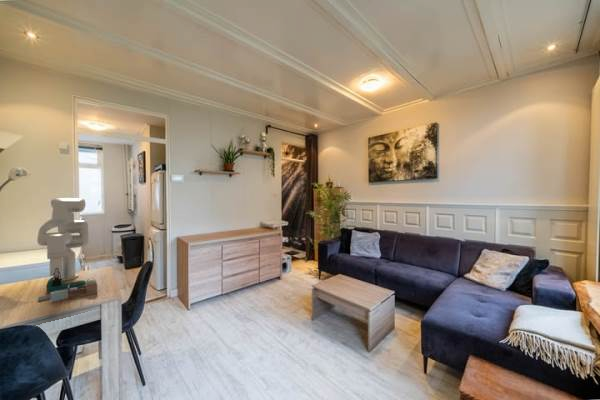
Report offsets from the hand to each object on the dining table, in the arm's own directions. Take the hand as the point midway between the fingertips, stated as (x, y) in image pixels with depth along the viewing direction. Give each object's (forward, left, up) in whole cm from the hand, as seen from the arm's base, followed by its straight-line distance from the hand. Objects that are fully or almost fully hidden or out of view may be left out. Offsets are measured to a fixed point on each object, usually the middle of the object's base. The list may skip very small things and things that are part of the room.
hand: (56, 284), depth 134 cm
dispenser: (-1, +11, -10) cm, 15 cm away
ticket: (-1, +3, -10) cm, 10 cm away
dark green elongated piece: (-21, +5, -10) cm, 24 cm away
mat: (-8, -3, -10) cm, 13 cm away
